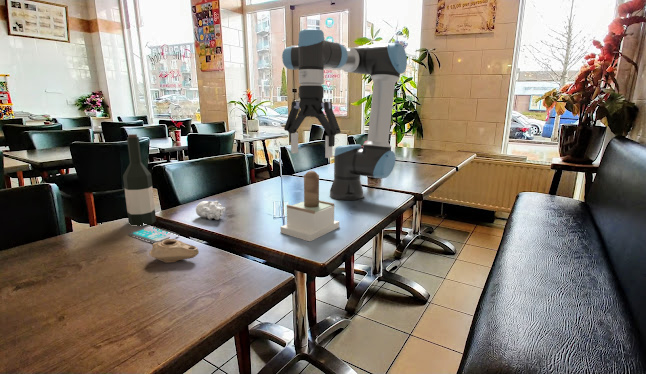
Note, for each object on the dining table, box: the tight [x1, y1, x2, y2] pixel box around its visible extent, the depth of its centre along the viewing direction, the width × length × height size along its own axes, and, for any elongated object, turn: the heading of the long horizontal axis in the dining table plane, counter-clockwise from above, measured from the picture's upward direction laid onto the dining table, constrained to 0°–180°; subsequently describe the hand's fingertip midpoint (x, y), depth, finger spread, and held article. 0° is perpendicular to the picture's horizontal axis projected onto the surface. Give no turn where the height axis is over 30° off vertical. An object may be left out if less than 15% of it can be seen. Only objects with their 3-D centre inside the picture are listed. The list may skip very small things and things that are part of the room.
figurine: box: [195, 200, 227, 221], centre depth 124 cm, size 7×7×12 cm
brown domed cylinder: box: [303, 170, 320, 207], centre depth 112 cm, size 5×5×11 cm
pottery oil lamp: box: [149, 239, 200, 264], centre depth 91 cm, size 9×12×7 cm
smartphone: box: [128, 226, 181, 243], centre depth 108 cm, size 9×1×15 cm
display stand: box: [280, 199, 340, 242], centre depth 113 cm, size 16×12×9 cm
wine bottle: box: [122, 133, 157, 227], centre depth 116 cm, size 8×8×30 cm
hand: (311, 155), depth 110 cm, fingers open, 13 cm apart
